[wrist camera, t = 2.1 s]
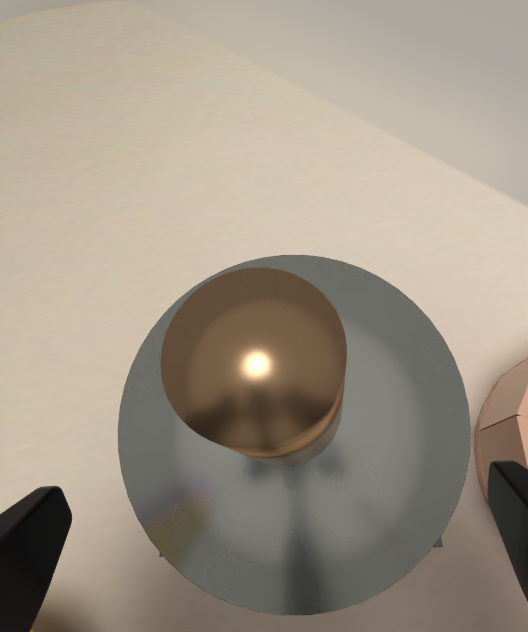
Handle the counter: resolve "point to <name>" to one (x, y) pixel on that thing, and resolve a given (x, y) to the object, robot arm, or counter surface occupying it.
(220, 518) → the lid
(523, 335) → the counter surface
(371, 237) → the counter surface
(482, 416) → the bowl
